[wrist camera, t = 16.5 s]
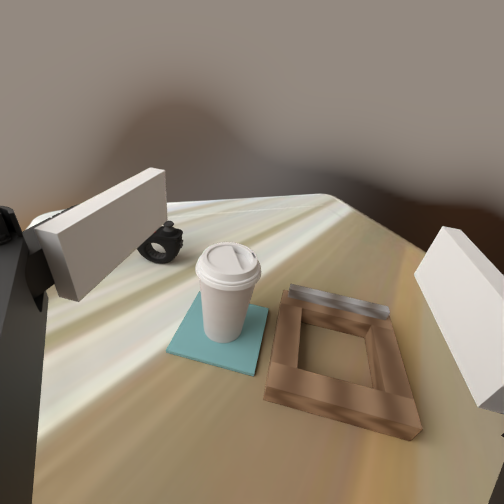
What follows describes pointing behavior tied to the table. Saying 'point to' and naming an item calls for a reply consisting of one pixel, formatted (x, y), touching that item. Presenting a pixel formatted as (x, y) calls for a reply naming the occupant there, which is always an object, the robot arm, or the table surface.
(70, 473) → the table surface
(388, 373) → the cup holder
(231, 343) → the pad
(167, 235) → the controller
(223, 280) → the coffee cup
